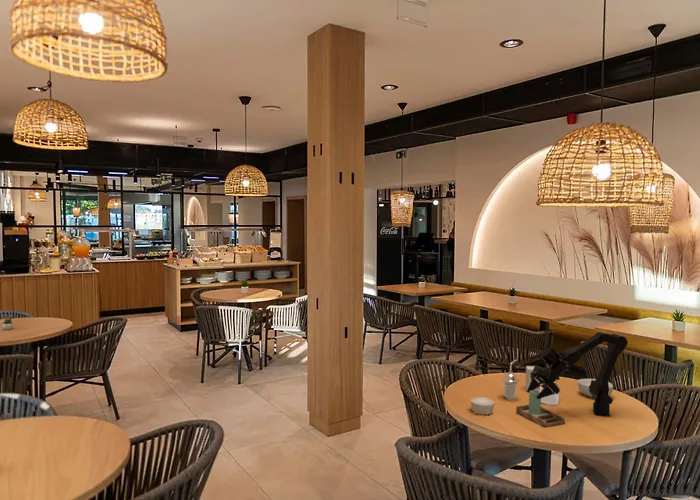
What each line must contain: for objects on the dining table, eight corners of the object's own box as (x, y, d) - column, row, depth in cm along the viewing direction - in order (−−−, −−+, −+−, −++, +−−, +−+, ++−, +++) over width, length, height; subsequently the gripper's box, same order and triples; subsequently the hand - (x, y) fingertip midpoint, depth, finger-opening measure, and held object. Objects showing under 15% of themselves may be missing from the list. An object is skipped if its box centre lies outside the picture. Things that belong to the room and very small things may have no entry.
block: (535, 410, 248) (536, 390, 248) (540, 414, 244) (540, 393, 243) (528, 411, 248) (529, 390, 247) (533, 414, 243) (533, 393, 243)
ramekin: (474, 406, 258) (474, 395, 257) (496, 410, 252) (497, 399, 252) (467, 413, 248) (467, 402, 248) (490, 417, 242) (490, 406, 242)
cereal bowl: (619, 397, 273) (619, 384, 272) (601, 403, 263) (602, 390, 263) (588, 388, 287) (589, 376, 286) (570, 394, 277) (571, 381, 277)
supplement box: (541, 393, 278) (542, 370, 277) (526, 392, 279) (527, 369, 278) (539, 389, 285) (540, 366, 284) (525, 388, 286) (525, 365, 286)
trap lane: (565, 423, 236) (565, 416, 236) (544, 427, 232) (545, 420, 231) (535, 409, 253) (536, 403, 253) (516, 413, 249) (516, 406, 248)
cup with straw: (497, 396, 271) (499, 359, 270) (513, 395, 274) (514, 358, 272) (507, 402, 263) (508, 363, 262) (522, 401, 265) (523, 362, 264)
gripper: (534, 354, 254) (512, 377, 253) (554, 365, 236) (530, 390, 235) (548, 370, 256) (527, 393, 255) (570, 382, 237) (546, 406, 236)
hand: (532, 395), depth 245 cm, fingers open, 9 cm apart
